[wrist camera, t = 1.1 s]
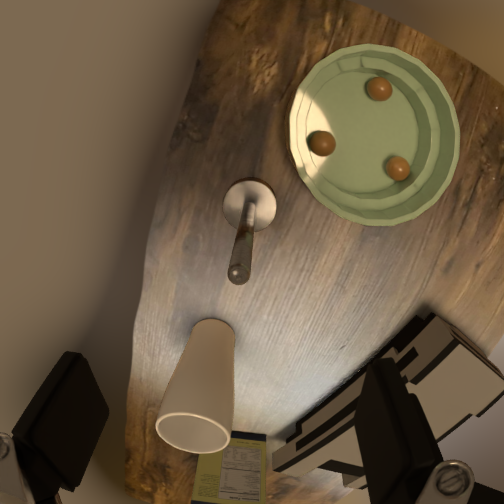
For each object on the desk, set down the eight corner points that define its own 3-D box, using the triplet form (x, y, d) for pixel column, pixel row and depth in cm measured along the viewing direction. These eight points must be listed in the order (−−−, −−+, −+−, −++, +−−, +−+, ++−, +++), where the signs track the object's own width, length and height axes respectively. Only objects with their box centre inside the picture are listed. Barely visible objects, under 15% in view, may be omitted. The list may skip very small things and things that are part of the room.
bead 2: (363, 77, 25) (371, 73, 23) (386, 79, 25) (396, 77, 23) (364, 100, 26) (372, 99, 24) (387, 103, 26) (396, 102, 24)
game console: (272, 435, 46) (272, 476, 38) (424, 298, 35) (453, 338, 27) (357, 461, 50) (363, 494, 42) (488, 354, 39) (511, 387, 31)
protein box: (201, 466, 52) (191, 533, 37) (202, 426, 45) (188, 508, 31) (254, 472, 52) (251, 539, 37) (267, 433, 46) (266, 517, 31)
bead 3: (383, 153, 28) (392, 156, 26) (404, 155, 28) (414, 158, 26) (381, 177, 29) (390, 182, 27) (403, 178, 29) (413, 183, 27)
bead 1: (307, 130, 28) (311, 130, 25) (332, 130, 28) (338, 131, 25) (307, 155, 29) (311, 158, 26) (332, 155, 28) (338, 158, 26)
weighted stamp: (223, 177, 30) (185, 234, 16) (275, 176, 30) (287, 232, 15) (226, 226, 32) (196, 318, 18) (276, 225, 32) (286, 318, 17)
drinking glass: (175, 321, 37) (138, 418, 23) (225, 303, 36) (205, 406, 22) (203, 360, 39) (182, 457, 26) (251, 346, 38) (244, 448, 24)
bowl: (281, 53, 25) (286, 37, 20) (428, 68, 25) (458, 62, 19) (285, 207, 31) (290, 226, 26) (424, 208, 31) (451, 226, 25)
